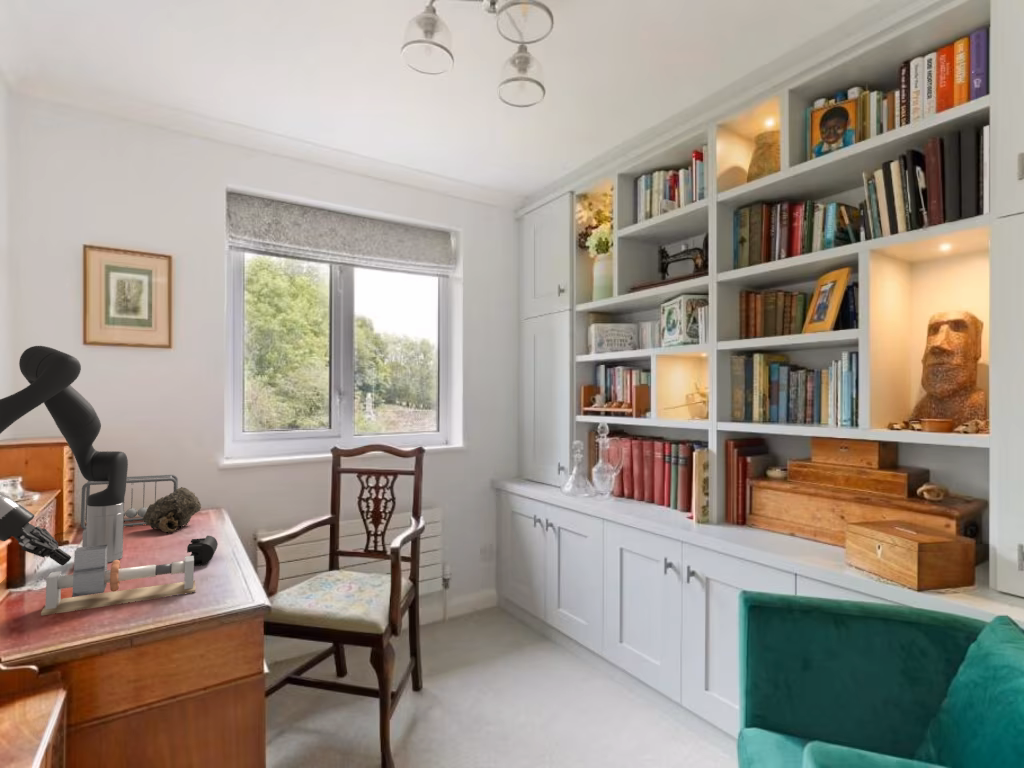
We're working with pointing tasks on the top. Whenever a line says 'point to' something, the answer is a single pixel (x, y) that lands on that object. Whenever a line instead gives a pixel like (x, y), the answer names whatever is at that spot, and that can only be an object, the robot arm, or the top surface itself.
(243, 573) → the top surface
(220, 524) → the top surface
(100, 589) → the grooved slider block
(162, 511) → the rock
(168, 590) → the base board
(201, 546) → the end cap
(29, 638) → the top surface
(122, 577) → the rod
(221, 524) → the top surface
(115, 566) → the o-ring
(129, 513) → the newton's cradle
